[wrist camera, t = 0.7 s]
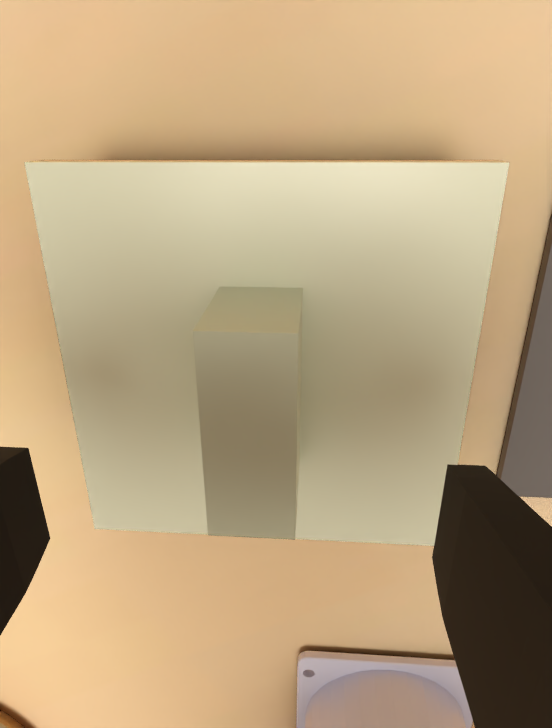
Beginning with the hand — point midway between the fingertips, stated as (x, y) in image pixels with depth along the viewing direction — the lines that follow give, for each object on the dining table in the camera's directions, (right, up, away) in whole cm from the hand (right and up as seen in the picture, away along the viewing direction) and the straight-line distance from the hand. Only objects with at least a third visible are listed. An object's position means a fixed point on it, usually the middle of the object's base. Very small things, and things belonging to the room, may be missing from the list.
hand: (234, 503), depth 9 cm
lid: (0, +2, +5) cm, 6 cm away
